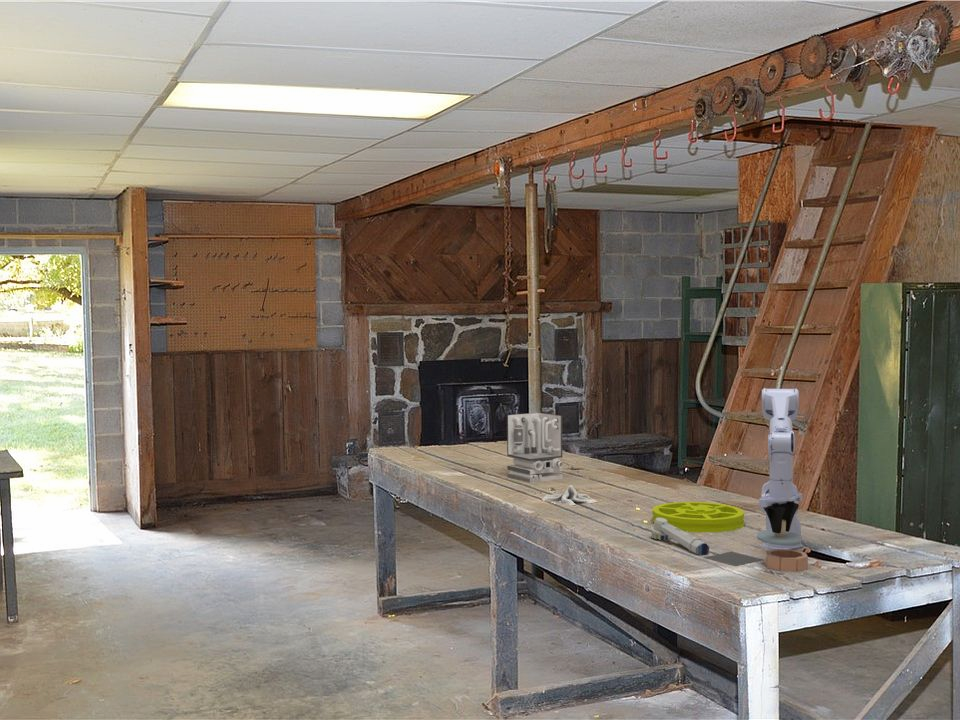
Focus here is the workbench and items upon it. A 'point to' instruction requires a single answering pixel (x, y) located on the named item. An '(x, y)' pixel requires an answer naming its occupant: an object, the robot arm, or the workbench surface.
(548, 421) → the electrical transformer
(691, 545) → the grey flashlight
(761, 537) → the lid
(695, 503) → the pulley
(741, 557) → the mat
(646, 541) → the workbench surface
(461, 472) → the workbench surface
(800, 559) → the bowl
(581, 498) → the cloth
